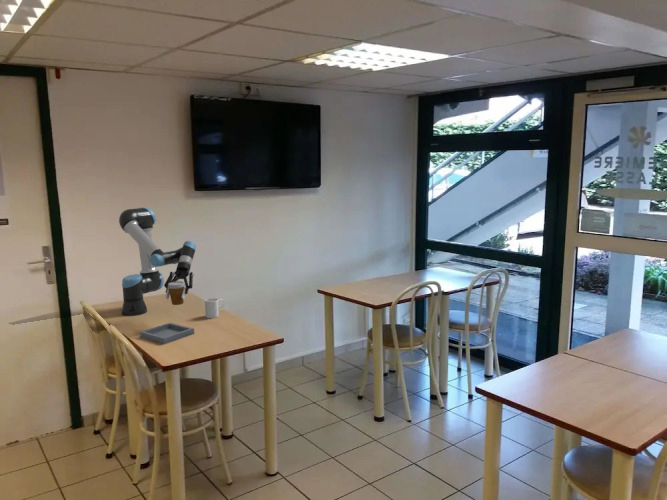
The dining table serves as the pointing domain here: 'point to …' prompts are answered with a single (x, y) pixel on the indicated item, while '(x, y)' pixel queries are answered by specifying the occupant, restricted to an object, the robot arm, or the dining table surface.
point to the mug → (212, 307)
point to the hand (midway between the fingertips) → (174, 298)
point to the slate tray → (167, 333)
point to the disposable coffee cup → (176, 292)
